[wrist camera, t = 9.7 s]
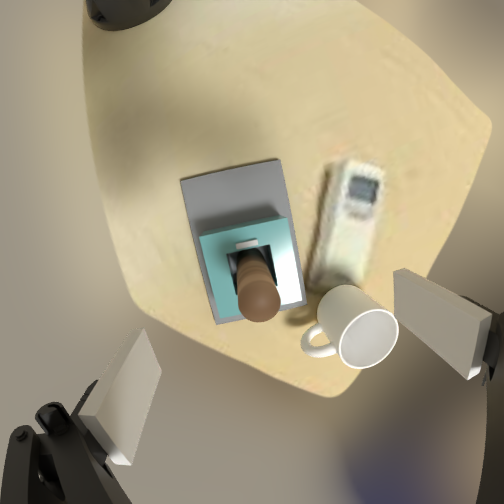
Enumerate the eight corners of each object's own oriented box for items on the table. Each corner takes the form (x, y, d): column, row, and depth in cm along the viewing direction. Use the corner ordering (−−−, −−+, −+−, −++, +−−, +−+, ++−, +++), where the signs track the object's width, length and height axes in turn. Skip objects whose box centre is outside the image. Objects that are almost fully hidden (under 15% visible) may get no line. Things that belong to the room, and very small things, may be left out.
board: (181, 181, 36) (180, 181, 35) (279, 160, 36) (280, 159, 35) (216, 321, 40) (216, 324, 39) (305, 302, 40) (307, 304, 39)
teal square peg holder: (203, 231, 36) (198, 237, 31) (280, 214, 36) (288, 218, 31) (221, 303, 38) (219, 320, 33) (293, 287, 38) (302, 301, 33)
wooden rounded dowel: (233, 250, 37) (233, 288, 23) (260, 244, 37) (276, 278, 23) (239, 276, 38) (243, 326, 24) (266, 270, 38) (284, 316, 24)
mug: (301, 351, 42) (319, 391, 32) (284, 306, 40) (300, 341, 30) (370, 319, 42) (402, 350, 31) (358, 274, 40) (393, 297, 30)
